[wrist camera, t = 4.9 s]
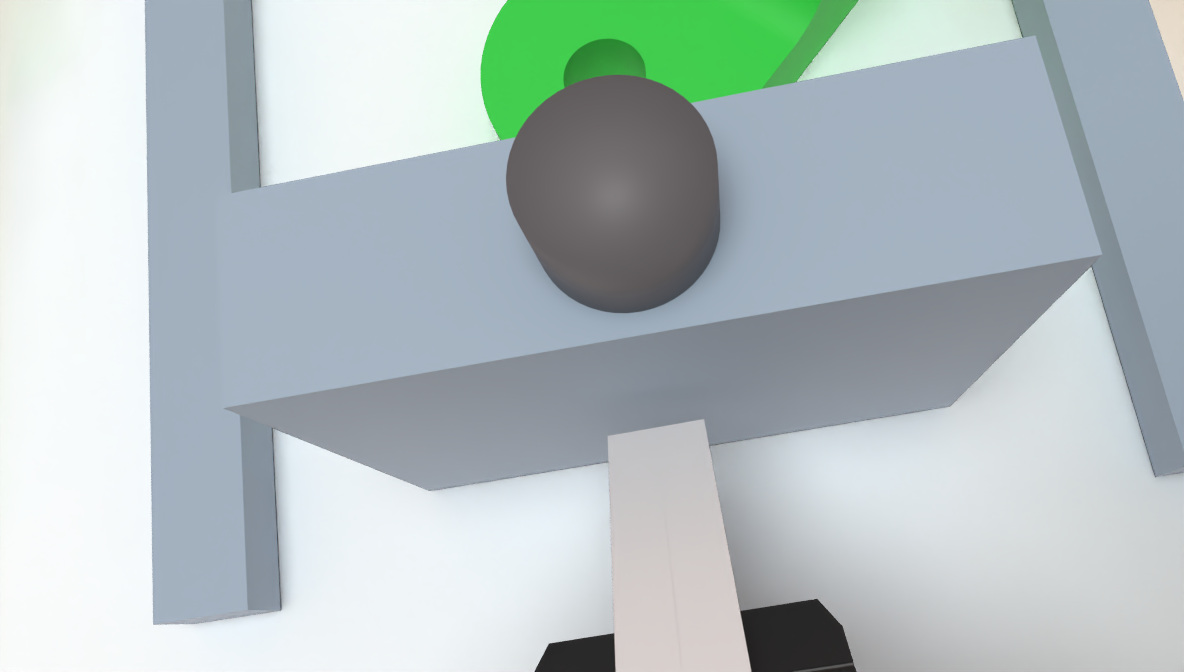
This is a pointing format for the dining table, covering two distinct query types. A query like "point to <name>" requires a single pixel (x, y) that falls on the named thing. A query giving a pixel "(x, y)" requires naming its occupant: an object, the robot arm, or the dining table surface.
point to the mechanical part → (648, 47)
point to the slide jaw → (657, 268)
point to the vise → (231, 164)
